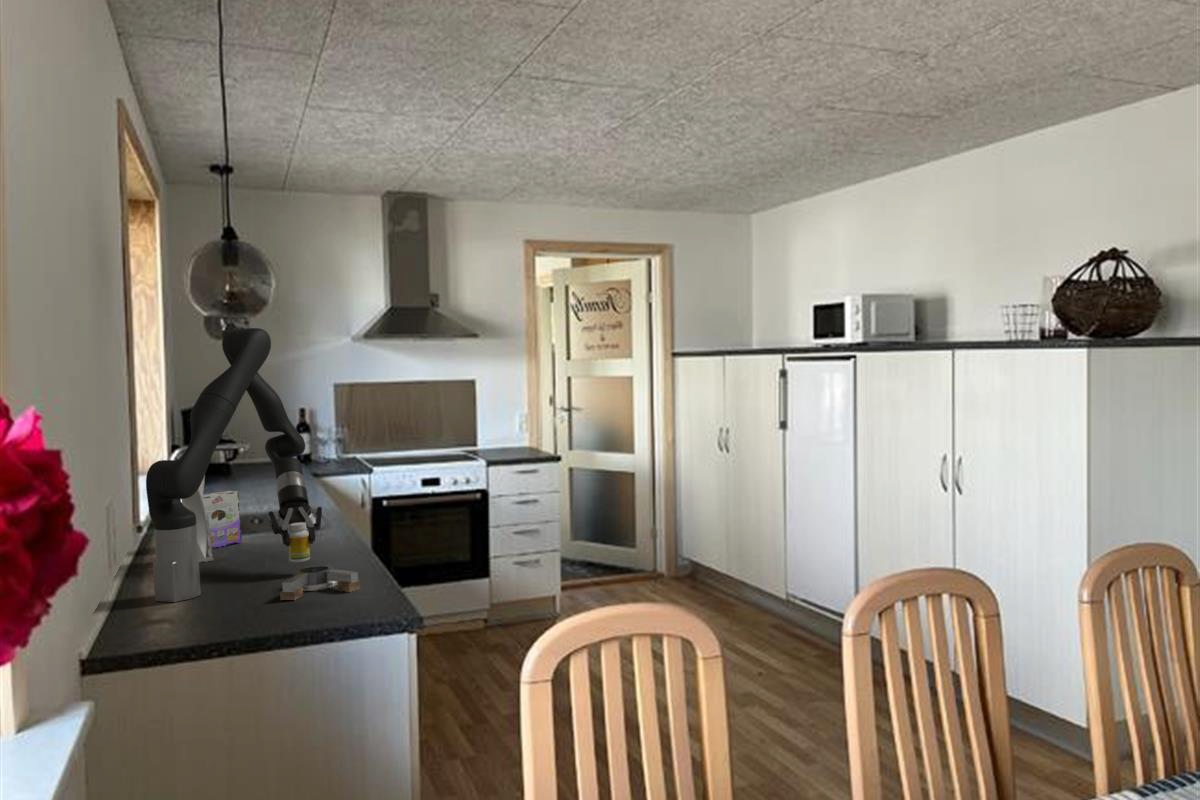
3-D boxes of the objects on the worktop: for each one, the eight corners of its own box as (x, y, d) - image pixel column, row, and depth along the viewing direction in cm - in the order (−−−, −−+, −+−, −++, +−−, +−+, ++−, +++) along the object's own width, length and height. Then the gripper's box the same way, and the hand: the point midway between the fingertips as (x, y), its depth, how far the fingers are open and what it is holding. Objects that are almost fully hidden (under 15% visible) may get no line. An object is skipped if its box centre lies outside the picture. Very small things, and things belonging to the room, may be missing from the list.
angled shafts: (326, 594, 202) (326, 585, 202) (277, 591, 206) (277, 582, 206) (361, 579, 215) (360, 570, 215) (314, 576, 219) (314, 568, 219)
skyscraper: (213, 562, 249) (207, 464, 248) (182, 566, 246) (175, 466, 244) (212, 556, 257) (207, 461, 255) (182, 560, 253) (176, 463, 252)
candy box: (232, 541, 279) (229, 489, 278) (242, 543, 275) (239, 491, 274) (189, 549, 268) (186, 496, 267) (198, 552, 264) (195, 497, 263)
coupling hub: (320, 593, 211) (319, 576, 211) (279, 590, 215) (278, 574, 215) (349, 580, 223) (349, 564, 223) (310, 578, 227) (309, 562, 226)
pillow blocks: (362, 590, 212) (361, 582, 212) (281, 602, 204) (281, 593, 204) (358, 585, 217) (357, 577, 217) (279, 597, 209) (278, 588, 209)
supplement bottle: (285, 560, 231) (283, 524, 230) (304, 556, 235) (302, 521, 234) (295, 563, 227) (293, 526, 227) (314, 559, 231) (312, 523, 230)
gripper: (264, 485, 234) (271, 538, 223) (320, 481, 240) (329, 531, 230) (263, 503, 239) (269, 555, 228) (318, 498, 245) (327, 548, 235)
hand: (299, 543), depth 229 cm, fingers closed on supplement bottle, 5 cm apart
